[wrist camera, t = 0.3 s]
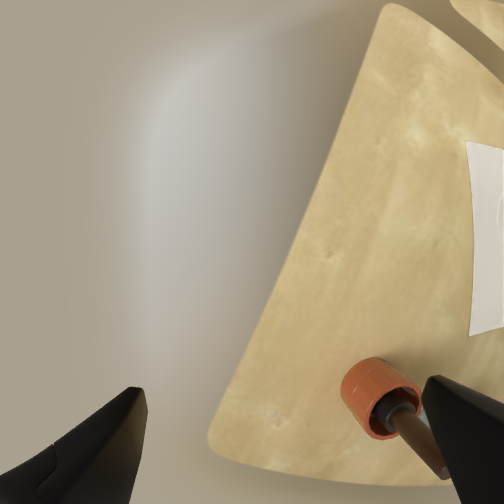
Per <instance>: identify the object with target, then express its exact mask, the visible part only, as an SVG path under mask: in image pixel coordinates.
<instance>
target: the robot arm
mask: <svg viewBox="0 0 504 504" xmlns="http://www.w3.org/2000/svg"><path fill="white" fill-rule="evenodd" d="M421 402H422V405H423V408H424V411H425V414H426V417H427V420H428V423H429V426H430V429H431V432H432V435H433V437H434V440H435V442H436V444H437V446H438V449H439V451H440V453H441V455H442V458H443V460H444V462H445V465H446V467H447V469H448V472H449V474H450V476H451V479H452V481H453V484H454V486H455V489H456V491H457V494H458V496H459V499H460V501H461V504H504V404H503V403H501V402H499V401H497V400H494V399H492V398H490V397H488V396H485V395H483V394H481V393H479V392H476V391H474V390H472V389H470V388H468V387H465V386H463V385H461V384H459V383H457V382H454V381H452V380H450V379H448V378H446V377H444V376H441V375H435V376H431V377H429V378H428V379H427V382H426V385H425V387H424V390H423V392H422V395H421ZM147 414H148V409H147V404H146V399H145V394H144V390H143V389H142V388H139V387H128V388H127V389H126V390H124V391H123V392H122V393H120V394H119V395H118V396H116V397H115V398H114V399H112V400H111V401H110V402H108V403H107V404H106V405H104V406H103V407H102V408H100V409H99V410H98V411H96V412H95V413H94V414H92V415H91V416H90V417H88V418H87V419H86V420H85V421H83V422H82V423H80V424H79V425H78V426H76V427H75V428H74V429H72V430H71V431H70V432H68V433H67V434H65V435H64V436H63V437H61V438H60V439H59V440H57V441H56V442H54V445H53V444H51V445H50V446H49V447H47V448H46V449H44V450H43V451H42V452H40V453H39V454H37V455H36V456H34V457H33V458H31V459H29V460H28V461H26V462H24V463H23V464H21V465H19V466H17V467H15V468H14V469H12V470H10V471H8V472H6V473H4V474H2V475H0V504H129V501H130V498H131V493H132V490H133V486H134V482H135V478H136V475H137V471H138V467H139V463H140V460H141V455H142V449H143V442H144V434H145V428H146V421H147Z"/></svg>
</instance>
